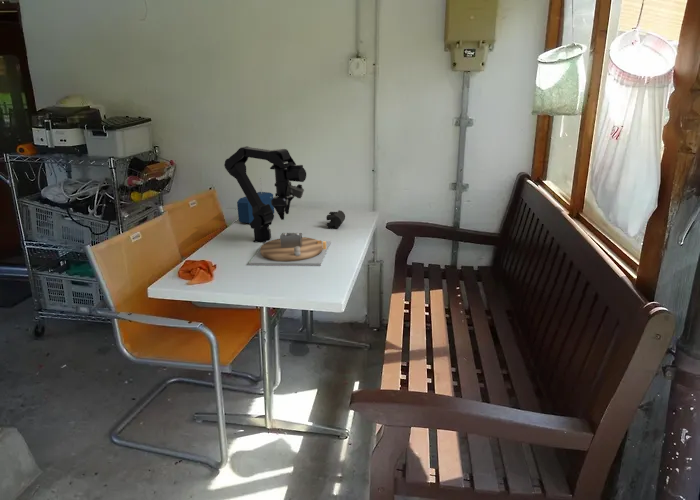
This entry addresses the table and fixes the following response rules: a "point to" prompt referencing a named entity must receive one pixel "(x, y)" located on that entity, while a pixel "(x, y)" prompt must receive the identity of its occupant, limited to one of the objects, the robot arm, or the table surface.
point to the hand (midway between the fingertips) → (284, 216)
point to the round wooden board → (291, 250)
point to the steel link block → (291, 240)
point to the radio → (246, 208)
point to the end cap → (335, 219)
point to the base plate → (313, 261)
